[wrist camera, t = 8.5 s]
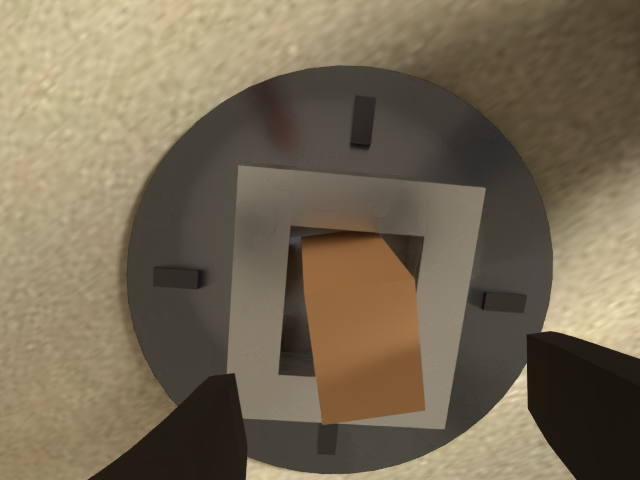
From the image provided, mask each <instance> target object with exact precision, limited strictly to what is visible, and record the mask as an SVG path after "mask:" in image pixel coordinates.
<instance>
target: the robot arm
mask: <svg viewBox="0 0 640 480" xmlns="http://www.w3.org/2000/svg"><path fill="white" fill-rule="evenodd" d="M526 339H527V391H528V410H529V411H530V413H531V415H532V417H533V418H534V420H535V422H536V424H537V425H538V427H539V429H540V431H541V432H542V434H543V435H544V437H545V439H546V440H547V442H548V444H549V445H550V446H551V448H552V449H553V450H554V452H555V453H556V454H557V455H558V457H559V458H560V459H561V461H562V462H563V463H564V464H565V466H566V467H567V468H568V469H569V471H570V472H571V473H572V475H573V476H574V477H575V478H576V480H640V359H639V358H636V357H633V356H630V355H627V354H624V353H621V352H618V351H615V350H612V349H609V348H606V347H603V346H600V345H597V344H594V343H591V342H588V341H585V340H582V339H579V338H576V337H572V336H569V335H566V334H562V333H558V332H553V331H548V332H541V333H533V334H526ZM247 450H248V445H247V439H246V434H245V428H244V422H243V417H242V411H241V405H240V400H239V394H238V388H237V383H236V377H235V373H230V374H222V375H215V376H209V377H208V378H207V379H206V380H205V381H204V382H203V383H201V384H200V385H199V386H198V387H197V388H196V389H195V390H194V391H193V392H192V393H191V394H190V395H189V396H188V397H187V398H186V399H185V400H184V401H183V402H182V403H181V404H180V405H179V406H178V407H177V408H176V409H175V410H174V411H173V412H172V413H171V414H170V415H169V416H168V417H167V418H165V419H164V420H163V421H162V422H161V423H160V424H159V425H158V426H156V427H155V428H154V429H153V430H152V431H151V432H149V433H148V434H147V435H146V436H145V437H144V438H143V439H141V440H140V441H139V442H138V443H137V444H136V445H134V446H133V447H132V448H131V449H130V450H128V451H127V452H126V453H124V454H123V455H122V456H120V457H119V458H118V459H116V460H115V461H114V462H112V463H111V464H110V465H108V466H107V467H105V468H104V469H103V470H101V471H100V472H98V473H97V474H95V475H94V476H92V477H91V478H89V479H88V480H246V467H247Z"/></svg>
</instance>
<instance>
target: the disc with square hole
mask: <svg viewBox="0 0 640 480" xmlns="http://www.w3.org/2000/svg"><path fill="white" fill-rule="evenodd" d="M349 230H351V231H364V232H376V233H378V234H379V235H380V236H381V237H382V239H383V240H384V241H385V242H386V244H387V245H388V246H389V247H390V249H391V250H392V251H393V252H394V254H395V255H396V256H397V257H398V259H399V260H400V261H401V262H402V264H403V265H404V266H405V268H406V269H407V270H408V271H409V273H410V274H411V275H412V276H413V278H414V279H415V287H416V299H417V312H418V324H419V336H420V348H421V360H422V373H423V385H424V397H425V409H426V411H419V412H412V413H405V414H398V415H391V416H384V417H377V418H370V419H362V420H355V421H348V422H341V423H334V424H327V425H322V418H321V411H320V404H319V397H318V389H317V382H316V375H315V368H314V361H313V353H312V346H311V339H310V332H309V325H308V318H307V310H306V303H305V296H304V280H303V262H302V243H301V237H304V236H311V235H319V234H326V233H334V232H341V231H349ZM552 280H553V251H552V243H551V235H550V227H549V223H548V220H547V216H546V212H545V209H544V205H543V201H542V199H541V196H540V194H539V192H538V189H537V187H536V185H535V182H534V180H533V178H532V175H531V174H530V172H529V170H528V169H527V167H526V166H525V164H524V162H523V161H522V159H521V157H520V156H519V154H518V152H517V151H516V150H515V149H514V147H513V146H512V145H511V144H510V143H509V141H508V140H507V139H506V138H505V136H504V135H503V134H502V133H501V132H500V130H499V129H498V128H496V127H495V126H494V125H493V124H492V123H491V122H490V121H489V120H488V119H487V118H486V117H484V116H483V115H482V114H481V113H480V112H479V111H478V110H476V109H475V108H473V107H472V106H470V105H469V104H467V103H466V102H465V101H463V100H462V99H460V98H459V97H457V96H456V95H454V94H452V93H450V92H448V91H446V90H444V89H442V88H440V87H438V86H436V85H434V84H432V83H430V82H428V81H425V80H422V79H419V78H416V77H413V76H410V75H407V74H403V73H400V72H396V71H390V70H385V69H379V68H373V67H363V66H329V67H320V68H310V69H304V70H300V71H296V72H292V73H288V74H284V75H280V76H276V77H274V78H271V79H269V80H266V81H264V82H261V83H259V84H256V85H254V86H251V87H249V88H247V89H245V90H243V91H242V92H240V93H238V94H236V95H235V96H233V97H231V98H229V99H227V100H226V101H224V102H222V103H221V104H219V105H218V106H217V107H216V108H214V109H213V110H212V111H210V112H209V113H208V114H206V115H205V116H204V117H203V118H201V119H200V120H199V121H197V122H196V123H195V124H194V125H193V126H192V127H191V128H190V129H189V131H188V132H187V133H186V134H185V135H184V136H183V137H182V138H181V139H180V140H179V141H178V142H177V143H176V144H175V145H174V147H173V148H172V149H171V151H170V152H169V153H168V155H167V156H166V157H165V159H164V160H163V162H162V163H161V164H160V166H159V167H158V169H157V171H156V173H155V174H154V176H153V178H152V180H151V182H150V184H149V185H148V187H147V189H146V191H145V193H144V196H143V198H142V201H141V204H140V206H139V209H138V212H137V214H136V217H135V220H134V225H133V229H132V234H131V238H130V243H129V249H128V262H127V288H128V302H129V307H130V312H131V317H132V322H133V326H134V330H135V333H136V335H137V338H138V341H139V344H140V347H141V349H142V352H143V354H144V356H145V358H146V360H147V362H148V364H149V366H150V368H151V370H152V372H153V374H154V376H155V377H156V379H157V380H158V381H159V383H160V384H161V386H162V387H163V389H164V390H165V391H166V393H167V394H168V396H169V397H170V398H171V399H172V400H173V402H174V403H175V404H176V405H177V406H179V405H180V404H181V403H182V402H183V401H184V400H185V399H186V398H187V397H188V396H189V395H190V394H191V393H192V392H193V391H194V390H195V389H196V388H197V387H198V386H199V385H200V384H201V383H203V382H204V381H205V380H206V379H207V378H208V377H209V376H215V375H222V374H230V373H235V377H236V383H237V388H238V394H239V400H240V405H241V411H242V417H243V422H244V428H245V434H246V439H247V445H248V450H247V456H248V457H250V458H253V459H256V460H259V461H262V462H264V463H267V464H270V465H273V466H277V467H281V468H286V469H290V470H295V471H300V472H309V473H319V474H351V473H359V472H367V471H375V470H379V469H383V468H387V467H391V466H395V465H399V464H402V463H405V462H408V461H410V460H413V459H416V458H419V457H421V456H424V455H426V454H428V453H430V452H432V451H434V450H436V449H438V448H440V447H442V446H444V445H446V444H447V443H449V442H450V441H452V440H453V439H455V438H456V437H458V436H460V435H461V434H463V433H464V432H466V431H467V430H468V429H469V428H471V427H472V426H473V425H474V424H476V423H477V422H478V421H479V420H480V419H482V418H483V417H484V416H485V415H486V414H487V413H488V412H489V411H490V410H491V409H492V408H493V407H494V406H495V405H496V404H497V403H498V402H499V401H500V400H501V399H502V398H503V397H504V395H505V394H506V393H507V391H508V390H509V389H510V387H511V386H512V385H513V383H514V382H515V381H516V379H517V378H518V377H519V375H520V373H521V372H522V370H523V368H524V367H525V365H526V363H527V339H526V334H533V333H541V331H542V328H543V324H544V321H545V317H546V314H547V310H548V306H549V300H550V293H551V287H552Z"/></svg>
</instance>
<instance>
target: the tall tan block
mask: <svg viewBox="0 0 640 480" xmlns="http://www.w3.org/2000/svg"><path fill="white" fill-rule="evenodd" d="M301 243H302V262H303V280H304V296H305V303H306V310H307V318H308V325H309V332H310V339H311V346H312V353H313V361H314V368H315V375H316V382H317V389H318V397H319V404H320V411H321V418H322V425H327V424H334V423H341V422H348V421H355V420H362V419H370V418H377V417H384V416H391V415H398V414H405V413H412V412H419V411H426V409H425V397H424V385H423V373H422V360H421V348H420V336H419V324H418V312H417V299H416V287H415V279H414V278H413V276H412V275H411V274H410V273H409V271H408V270H407V269H406V268H405V266H404V265H403V264H402V262H401V261H400V260H399V259H398V257H397V256H396V255H395V254H394V252H393V251H392V250H391V249H390V247H389V246H388V245H387V244H386V242H385V241H384V240H383V239H382V237H381V236H380V235H379V234H378V233H376V232H364V231H351V230H349V231H341V232H334V233H326V234H319V235H311V236H304V237H301Z"/></svg>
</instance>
